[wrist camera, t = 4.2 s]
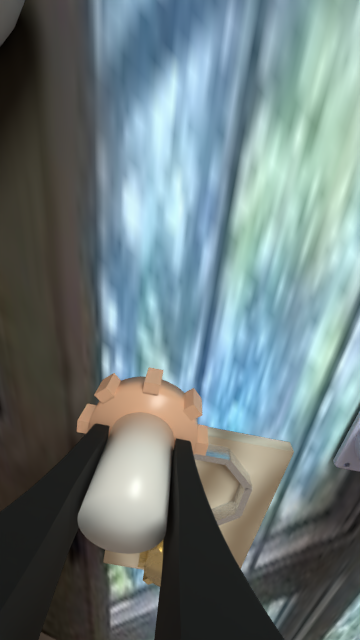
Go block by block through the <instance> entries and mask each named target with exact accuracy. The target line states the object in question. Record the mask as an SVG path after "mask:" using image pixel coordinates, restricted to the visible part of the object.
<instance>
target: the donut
mask: <svg viewBox="0 0 360 640" xmlns="http://www.w3.org/2000/svg"><path fill="white" fill-rule="evenodd" d="M24 2H25V0H0V46H1V45H2V44H3V42H4V41H5V40H6V38H7V37H8V36H9V35H10V33H11V32H12V31H13V29H14V28H15V25H16V22H17V20H18V17H19V15H20V12H21V9H22V7H23V4H24Z"/></svg>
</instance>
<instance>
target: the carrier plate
mask: <svg viewBox="0 0 360 640" xmlns="http://www.w3.org/2000/svg"><path fill="white" fill-rule="evenodd" d="M207 428H208V443H209V444H212V445H217V446H223V447H228V449H230V450H231V451H232V453H233V454H234V455H235V456H236V458H237V459H238V460H239V462H240V463H241V464H242V465H243V467H244V468H245V469H246V471H247V472H248V473H249V474H250V479H251V483H252V488H253V490H252V492H251V494H250V497H249V499H248V502H247V504H246V507H245V509H244V511H243V514H242V516H240V518H238V519H235V520H232V521H230V522H227V523H224V524H222V525H219V528H220V530H221V532H222V534H223V537H224V539H225V541H226V543H227V545H228V547H229V549H230V551H231V553H232V555H233V556H234V558H235V560H236V562H237V564H238V565H239V567H240V569H241V566H242V564H243V562H244V560H245V558H246V556H247V553H248V551H249V549H250V547H251V545H252V542H253V540H254V538H255V536H256V534H257V532H258V529H259V527H260V525H261V523H262V521H263V518H264V516H265V514H266V512H267V510H268V507H269V505H270V503H271V501H272V499H273V497H274V494H275V492H276V490H277V488H278V486H279V483H280V481H281V479H282V477H283V475H284V473H285V470H286V468H287V466H288V464H289V462H290V459H291V457H292V455H293V453H294V451H293V449H292V446H291V444H290V442H285V441H280V440H275V439H269V438H264V437H259V436H253V435H248V434H243V433H237V432H232V431H227V430H221V429H216V428H211V427H207ZM195 462H196V466H197V470H198V473H199V476H200V479H201V482H202V485H203V488H204V491H205V494H206V497H207V499H208V502H209V504H210V507H211V509H212V508H215V507H217V506H220V505H222V504H225V503H227V502H230V501H232V500H233V499H234V496H235V494H236V491H237V489H238V486H239V483H240V482H239V481H238V480H237V479H236V477H235V476H234V475H233V474H232V473H231V471H230V470H229V469H228V468H227V466H226V465H222V464H217V463H212V462H206V461H201V460H195ZM139 555H140V553H134V554H124V553H116V552H112V551H108V550H106V549H105V555H104V562H103V563H108V564H114V565H120V566H126V567H131V568H137V569H143V570H144V568H139V567H138V561H139Z"/></svg>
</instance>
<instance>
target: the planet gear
mask: <svg viewBox="0 0 360 640" xmlns="http://www.w3.org/2000/svg"><path fill="white" fill-rule="evenodd" d="M162 375H163V370H159V369H154V368H149V369H148V372H147V375H146V377H133V378H128V379H125V380H122V381H121V380H120V379H119V378H118V377H117V376H116V375H115V373H113V374H112V375H110V376H108V377H107V378H105V379H103V381H102V382H101V384H100V386H99V388H98V389H97V391H96V393H95V394H94V395H95V396H96V397H97V398H98V399H99V402H98V404H97V405H92V404H87V405H86V407H85V409H84V410H83V412H82V414H81V415H80V417H79V419H78V423H77V432H80V433H85V434H86V433H87V432H88V431H89V430H90V429H91V427H92V426H93V425H94V424H96V423H97V424H103V425H108V426H109V434H108V440H107V442H106V445H105V447H104V450H103V452H102V455H101V458H100V460H99V463H98V465H97V468H96V470H95V473H94V475H93V478H92V480H91V483H90V485H89V488H88V490H87V493H86V495H85V498H84V500H83V503H82V506H81V508H80V511H79V513H78V525H79V528H80V530H81V532H82V533H83V534H84V536H85V537H86V538H87V539H88V540H89V541H91V542H92V543H94V544H95V545H97V546H99V547H101V548H103V549H106V550H108V551H112V552H116V553H124V554H134V553H141V552H145V551H148V550H150V549H152V548H154V547H156V546H157V545H158V544H160V542H161V541H162V540H163V538H164V537H165V534H166V528H167V517H168V506H169V494H170V483H171V470H172V459H173V449H174V445H175V441H176V438H177V439H183V440H188V441H190V442H191V444H192V450H193V454H198V455H204V456H205V455H206V452H207V448H208V445H209V443H208V428H207V426H204V425H198V424H197V418H198V417H200V416H202V400H201V397H200V396H199V395H198V393H197V392H196V391H195V389H194V388H193V389H191V390H189V391H187V392H186V393H184V392H183V391H182V390H181V389H179V388H178V387H176V386H175V385H173V384H171V383H169V382H167V381H164V380H162Z"/></svg>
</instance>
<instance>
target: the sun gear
mask: <svg viewBox="0 0 360 640" xmlns="http://www.w3.org/2000/svg"><path fill="white" fill-rule="evenodd" d="M163 539H164V538H163ZM162 563H163V540H162V541H161V542H160V544H158V545H157V546H156V547H154V548H152V549H150V550H148V551H145V552H141V553H140V555H139V561H138V567H139V568H144V576H143V581H144V582H146V583H147V584H148V585H149V584H151V583H154V584H155V585H157V586H159V587H160V585H161V575H162Z"/></svg>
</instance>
